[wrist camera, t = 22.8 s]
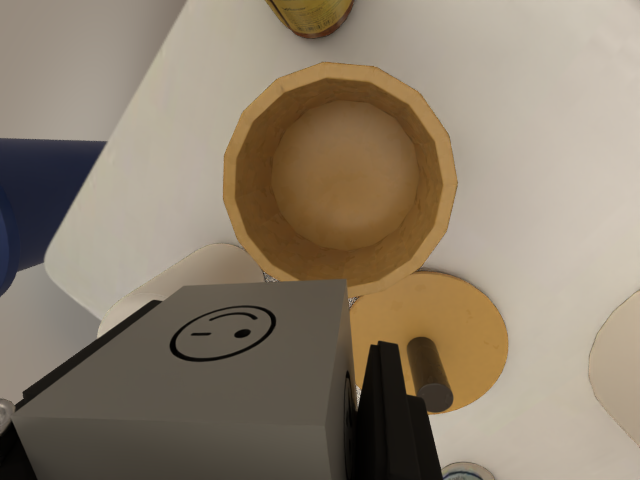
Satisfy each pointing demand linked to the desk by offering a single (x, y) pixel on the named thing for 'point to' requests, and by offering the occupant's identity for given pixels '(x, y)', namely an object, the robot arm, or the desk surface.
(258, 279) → the pill bottle
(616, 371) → the cylinder
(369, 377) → the robot arm
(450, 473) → the spray can
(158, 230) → the desk surface
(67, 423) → the dice cube
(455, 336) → the tan wooden disc
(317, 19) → the sauce bottle
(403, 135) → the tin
